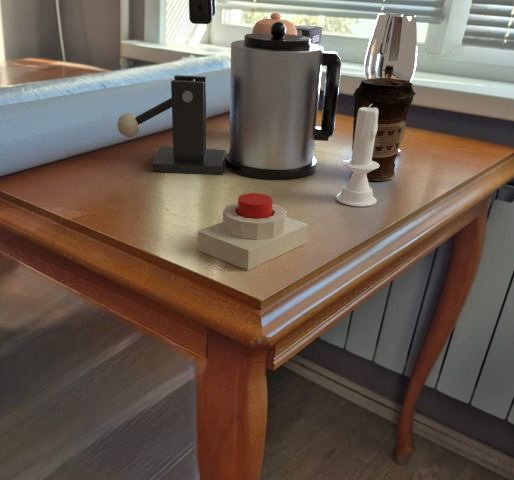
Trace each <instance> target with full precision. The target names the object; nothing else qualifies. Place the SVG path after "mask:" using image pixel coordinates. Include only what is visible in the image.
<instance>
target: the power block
mask: <svg viewBox="0 0 514 480" xmlns="http://www.w3.org/2000/svg"><path fill="white" fill-rule="evenodd" d="M308 229H309V224H308V223H305V222H302V221H299V220H296V219H294V218H290V217H287V211H286V210H285V208H283V207H282V206H280V205H278V204H275V203H272V216H271V217H268V218H262V219H251V218H245V217H242V216H239V215H238V201H235V202H233V203H230V204H228V205H226V206H225V207H224V208H223V210H222V221H221V222H218V223H216V224H213V225H211V226H207V227H205V228H203V229H200V230H198V231H197V251H199V252H201V253H204V254H206V255H208V256H211V257H213V258H216V259H218V260H220V261H223V262H225V263H228V264H230V265H233V266H235V267H237V268H240V269H242V270H245V271H247V272H248V271H250V270H252V269H255V268H256V267H258V266H261V265H262V264H265V263H267V262H270V261H271V260H273V259H276V258H278V257H280V256H281V255H284V254H286V253H288V252H290V251H293V250H294V249H296V248H298V247H300V246H303V245H305V244H307V240H308Z"/></svg>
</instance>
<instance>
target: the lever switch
mask: <svg viewBox="0 0 514 480" xmlns="http://www.w3.org/2000/svg"><path fill="white" fill-rule="evenodd" d="M191 81H195V79H193V80H191ZM169 109H172V97H170V98H168V99H166V100H163V101H162V102H160V103H158V104H157V105H155V106H153V107H151V108H150V109H148V110H145V111H144V112H142V113H139V115H137V116H136V115H134V114H132V113H124V114H122V115H120V116H119V117H118V120H117V124H116V125H117V126H116V127H117V129H118V132H119V133H120V134H121V135H122V136H124V137H126V138H133V137H135V136H137V135H138V133H139V132H140V130H141V124H143V123H145V122H147V121H149V120H151V119H153V118H154V117H156V116H158V115H160V114H162V113H164V112H165V111H168V110H169Z"/></svg>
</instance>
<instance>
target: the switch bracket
mask: <svg viewBox="0 0 514 480" xmlns="http://www.w3.org/2000/svg"><path fill="white" fill-rule="evenodd" d="M173 78H174V79H172V80H171V81H170V87H171V88H170V91H171V93H170V94H171V95H170V96H171V98H172V107H171V122H172V123H171V125H172V147H171V146H160V148H159V150H158V151H157V154H156V155H155V158H154V160H153V161H152V164H151V167H152V172H153V173H170V174H171V173H172V174H192V175H194V174H196V175H216V176H219V175H220V176H223V174H224V168H225V163H226V149H222V148H221V149H219V148H218V149H216V148H207V76H203V75H199V76H198V75H180V74H178V75H177V74H176V75H174V77H173ZM193 79H195V81H191V80H193Z"/></svg>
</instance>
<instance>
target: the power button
mask: <svg viewBox="0 0 514 480" xmlns="http://www.w3.org/2000/svg"><path fill="white" fill-rule="evenodd" d="M273 201H274V200H273V197H272V196H270V195H268V194H265V193H258V192H247V193H243V194H240V195H239V196H238V197H237V202H238V215H239V216H242V217H245V218H251V219H262V218H268V217H271V216H272V204H274V203H273Z"/></svg>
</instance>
